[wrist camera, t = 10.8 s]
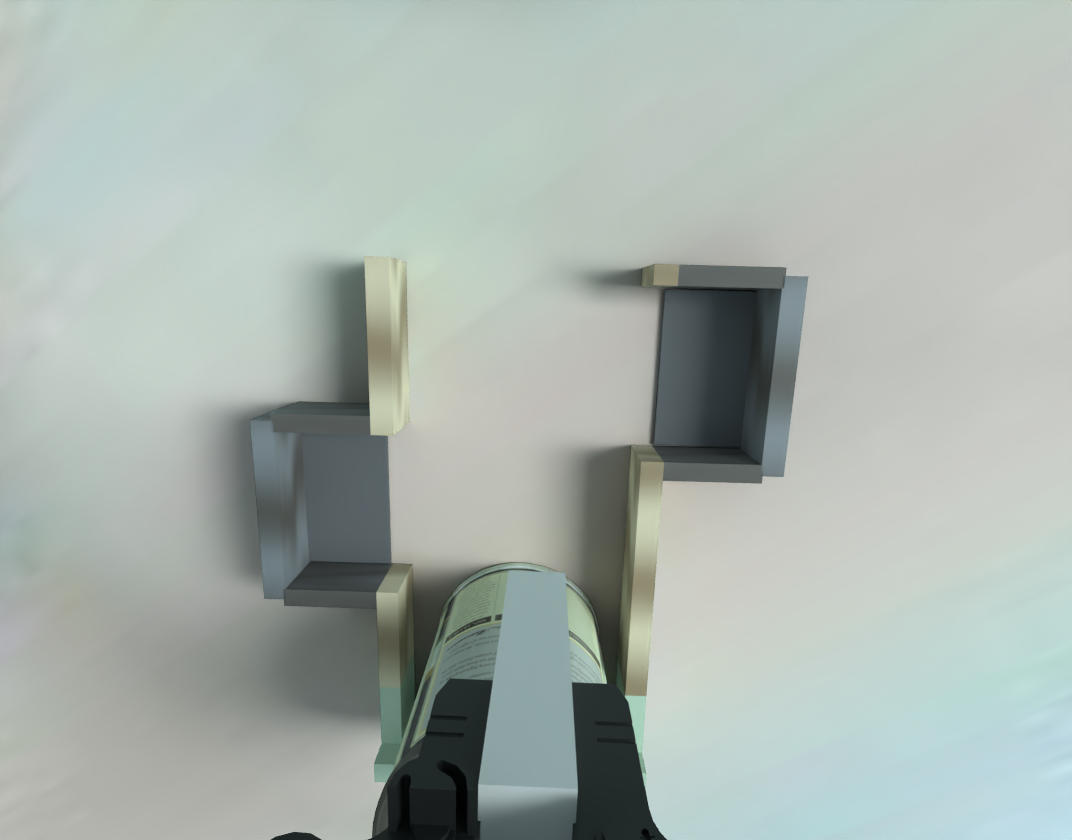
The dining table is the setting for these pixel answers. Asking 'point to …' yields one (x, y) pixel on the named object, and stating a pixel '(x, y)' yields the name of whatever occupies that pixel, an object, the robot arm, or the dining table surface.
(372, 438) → the mats
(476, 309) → the dining table surface
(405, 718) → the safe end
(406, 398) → the channel
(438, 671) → the coffee can
